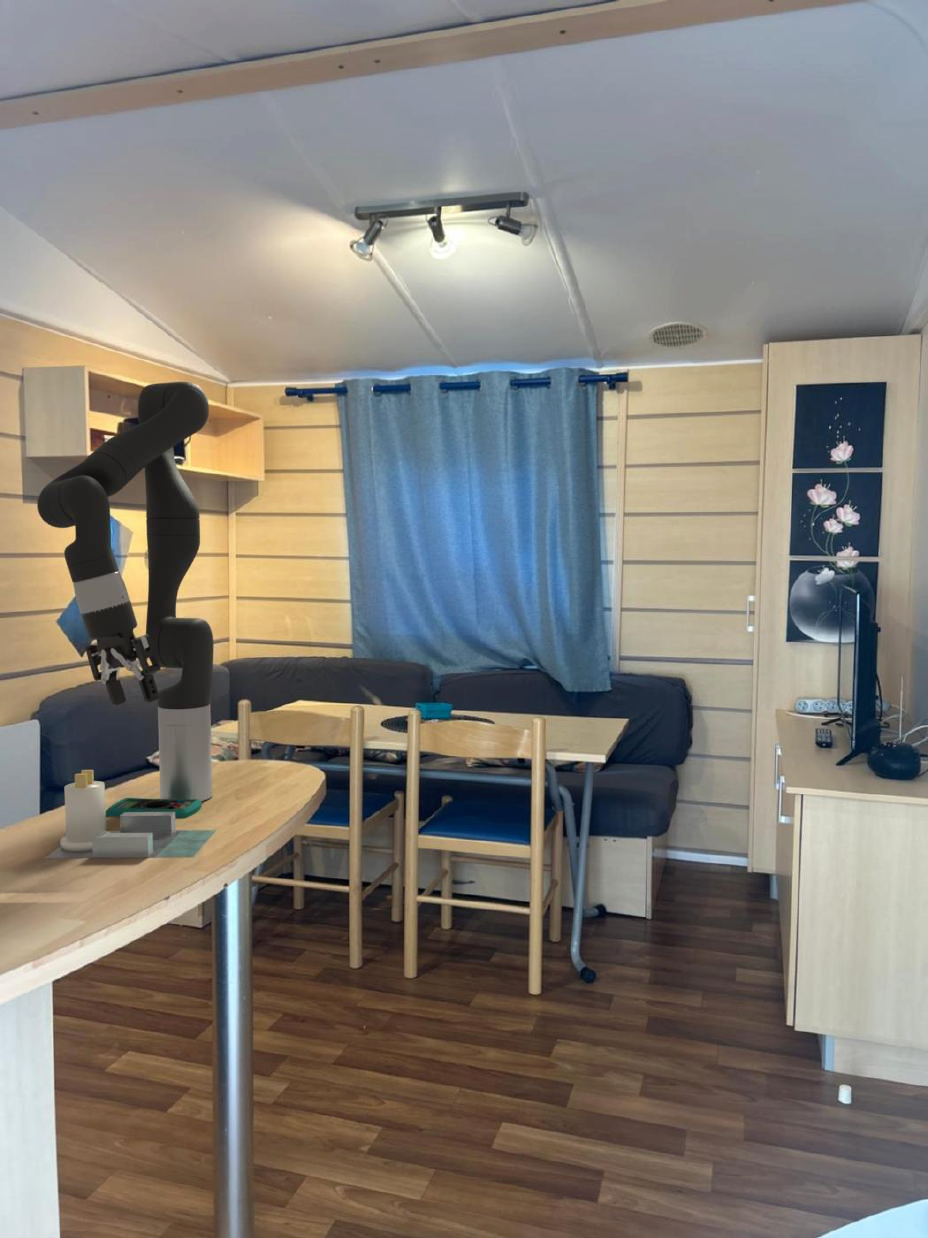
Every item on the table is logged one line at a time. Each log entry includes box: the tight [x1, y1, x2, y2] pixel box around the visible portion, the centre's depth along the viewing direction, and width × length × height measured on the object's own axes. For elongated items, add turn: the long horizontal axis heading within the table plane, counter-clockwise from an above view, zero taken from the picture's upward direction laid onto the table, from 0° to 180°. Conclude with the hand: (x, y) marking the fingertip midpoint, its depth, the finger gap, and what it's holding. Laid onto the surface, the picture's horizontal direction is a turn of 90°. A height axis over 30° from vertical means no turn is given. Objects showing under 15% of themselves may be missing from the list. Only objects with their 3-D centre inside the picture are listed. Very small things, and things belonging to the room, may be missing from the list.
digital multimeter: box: [105, 797, 203, 819], centre depth 158 cm, size 7×15×3 cm, turn 85°
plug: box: [60, 769, 110, 851], centre depth 139 cm, size 7×7×11 cm
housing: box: [44, 812, 217, 859], centre depth 140 cm, size 13×22×4 cm, turn 91°
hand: (135, 702), depth 147 cm, fingers open, 8 cm apart
